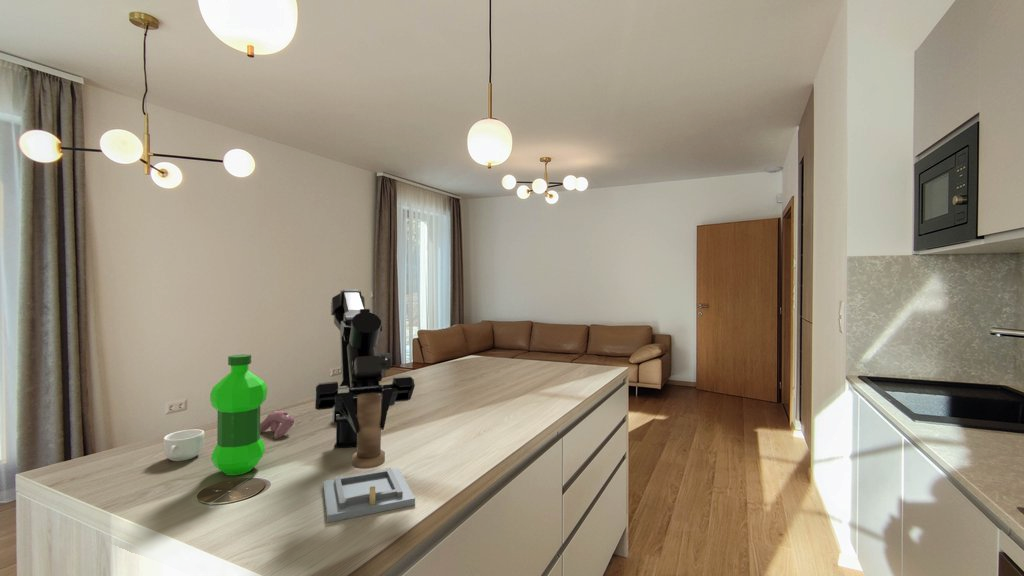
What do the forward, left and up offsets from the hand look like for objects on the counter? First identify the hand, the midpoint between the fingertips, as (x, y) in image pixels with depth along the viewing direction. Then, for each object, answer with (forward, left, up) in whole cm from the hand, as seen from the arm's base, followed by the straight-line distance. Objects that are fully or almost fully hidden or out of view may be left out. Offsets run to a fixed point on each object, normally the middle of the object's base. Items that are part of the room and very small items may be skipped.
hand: (370, 430), depth 84 cm
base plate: (-1, +1, -13) cm, 13 cm away
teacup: (-47, +24, -13) cm, 54 cm away
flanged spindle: (0, +1, -7) cm, 7 cm away
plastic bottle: (-31, +16, -13) cm, 37 cm away
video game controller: (-32, +41, -13) cm, 54 cm away
